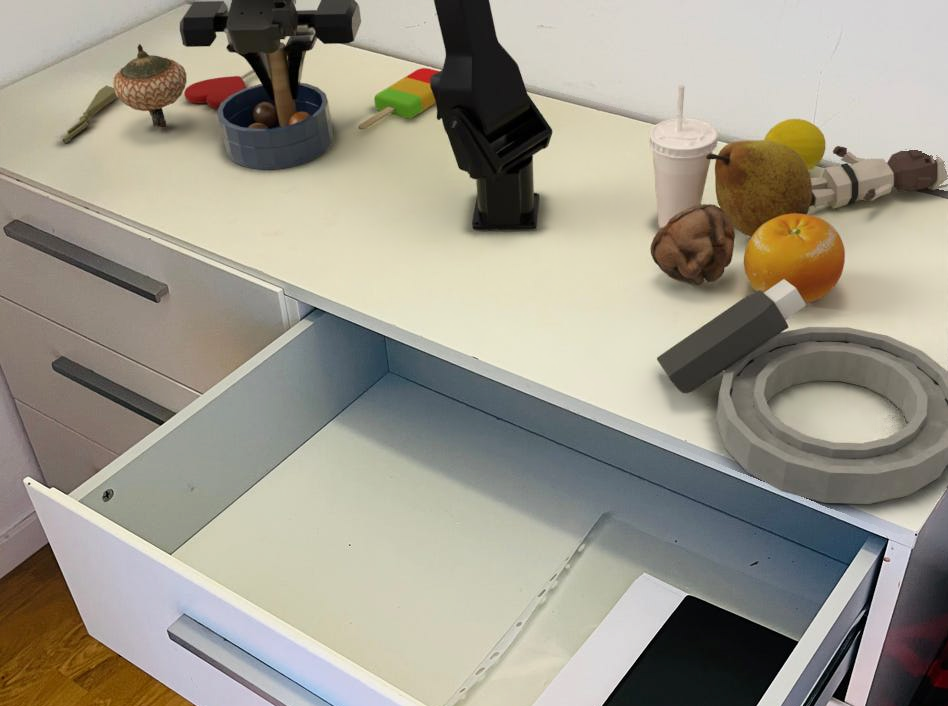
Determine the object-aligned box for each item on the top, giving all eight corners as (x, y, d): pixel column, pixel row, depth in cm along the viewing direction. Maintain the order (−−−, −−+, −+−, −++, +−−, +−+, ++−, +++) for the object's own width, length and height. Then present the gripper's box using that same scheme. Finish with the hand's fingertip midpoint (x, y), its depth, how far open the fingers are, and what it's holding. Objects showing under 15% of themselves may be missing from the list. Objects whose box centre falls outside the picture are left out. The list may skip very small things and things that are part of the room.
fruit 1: (753, 185, 120) (814, 184, 124) (786, 157, 115) (849, 157, 119) (740, 137, 121) (801, 137, 125) (772, 107, 116) (834, 108, 120)
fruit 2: (805, 165, 115) (746, 78, 108) (839, 211, 109) (778, 123, 102) (732, 219, 119) (669, 139, 111) (760, 268, 112) (696, 186, 105)
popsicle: (459, 89, 140) (457, 74, 139) (379, 141, 132) (377, 125, 131) (423, 79, 143) (421, 64, 142) (342, 129, 135) (340, 114, 133)
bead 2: (271, 155, 130) (266, 130, 128) (244, 156, 130) (239, 130, 128) (276, 142, 132) (271, 117, 130) (250, 143, 132) (245, 118, 130)
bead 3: (315, 144, 131) (311, 118, 129) (289, 144, 131) (284, 119, 129) (320, 131, 133) (316, 106, 131) (294, 131, 134) (289, 106, 132)
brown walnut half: (676, 256, 101) (651, 216, 104) (669, 311, 108) (645, 273, 110) (756, 228, 102) (729, 190, 104) (743, 285, 109) (719, 247, 111)
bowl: (322, 169, 128) (316, 130, 125) (214, 170, 129) (205, 132, 126) (341, 117, 137) (335, 80, 134) (239, 119, 138) (232, 82, 135)
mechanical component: (701, 484, 89) (704, 454, 87) (734, 344, 101) (737, 315, 99) (953, 521, 84) (962, 491, 82) (955, 369, 97) (963, 340, 95)
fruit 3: (713, 245, 106) (772, 189, 100) (777, 247, 111) (837, 193, 104) (750, 325, 103) (812, 272, 97) (814, 323, 108) (877, 273, 102)
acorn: (211, 122, 138) (192, 38, 131) (159, 151, 133) (136, 66, 126) (164, 106, 142) (143, 23, 135) (112, 134, 137) (87, 50, 130)
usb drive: (668, 376, 93) (686, 402, 94) (798, 288, 91) (815, 316, 92) (655, 358, 98) (672, 383, 99) (778, 273, 96) (794, 300, 97)
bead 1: (279, 131, 133) (271, 106, 131) (255, 135, 134) (246, 110, 132) (285, 119, 135) (276, 94, 134) (261, 124, 136) (252, 99, 134)
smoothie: (667, 201, 119) (675, 67, 109) (722, 219, 116) (736, 83, 106) (632, 229, 116) (637, 92, 106) (687, 248, 113) (698, 110, 103)
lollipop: (256, 52, 151) (177, 99, 142) (255, 45, 151) (175, 92, 142) (305, 63, 148) (227, 112, 139) (304, 56, 147) (226, 105, 138)
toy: (785, 152, 117) (929, 118, 117) (781, 190, 120) (920, 158, 121) (817, 203, 112) (967, 167, 112) (811, 241, 116) (956, 206, 116)
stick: (296, 128, 133) (282, 49, 127) (277, 128, 133) (263, 50, 127) (300, 119, 134) (287, 41, 128) (281, 119, 135) (267, 41, 128)
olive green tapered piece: (107, 91, 144) (106, 84, 144) (129, 99, 144) (128, 92, 143) (44, 137, 137) (43, 130, 136) (68, 145, 136) (66, 138, 135)
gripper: (148, -15, 116) (185, 133, 127) (333, -20, 114) (354, 130, 125) (178, -55, 124) (210, 87, 135) (352, -60, 122) (370, 85, 133)
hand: (284, 98), depth 132 cm, fingers closed on stick, 2 cm apart
